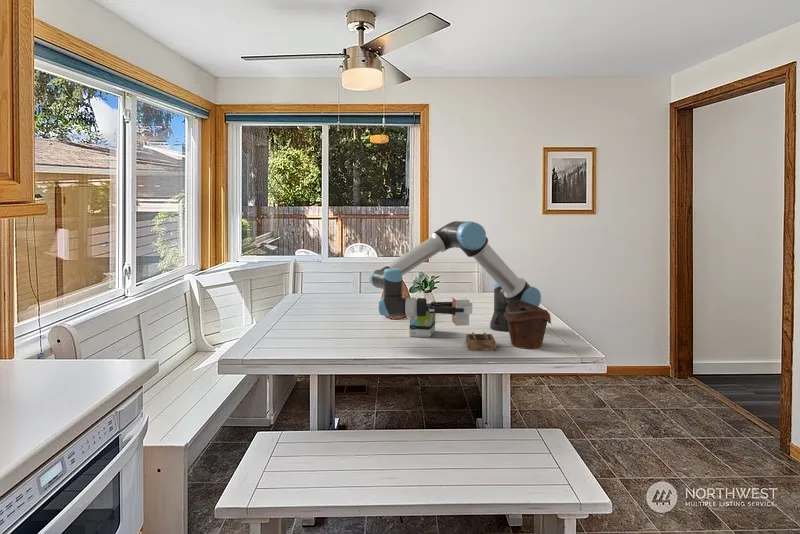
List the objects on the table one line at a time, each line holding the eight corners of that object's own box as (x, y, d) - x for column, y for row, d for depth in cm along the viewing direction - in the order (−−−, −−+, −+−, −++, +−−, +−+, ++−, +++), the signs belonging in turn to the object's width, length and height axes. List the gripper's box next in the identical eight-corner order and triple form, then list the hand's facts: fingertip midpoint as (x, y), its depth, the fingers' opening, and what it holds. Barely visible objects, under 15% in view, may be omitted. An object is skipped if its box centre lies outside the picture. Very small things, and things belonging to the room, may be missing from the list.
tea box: (430, 337, 263) (431, 305, 262) (408, 336, 265) (408, 304, 264) (435, 330, 278) (435, 299, 276) (414, 329, 280) (414, 299, 278)
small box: (452, 322, 243) (452, 296, 242) (465, 321, 244) (465, 296, 243) (455, 325, 235) (455, 299, 234) (469, 325, 236) (469, 299, 235)
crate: (491, 343, 252) (491, 332, 251) (495, 350, 239) (495, 339, 238) (465, 343, 252) (465, 332, 252) (468, 350, 239) (468, 339, 239)
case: (543, 352, 235) (544, 308, 233) (496, 346, 245) (497, 304, 244) (557, 344, 250) (558, 302, 248) (512, 339, 260) (513, 299, 259)
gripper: (419, 311, 252) (472, 312, 249) (414, 321, 231) (472, 322, 228) (419, 294, 251) (472, 294, 248) (414, 302, 230) (472, 303, 227)
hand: (472, 308), depth 238 cm, fingers closed on small box, 9 cm apart
